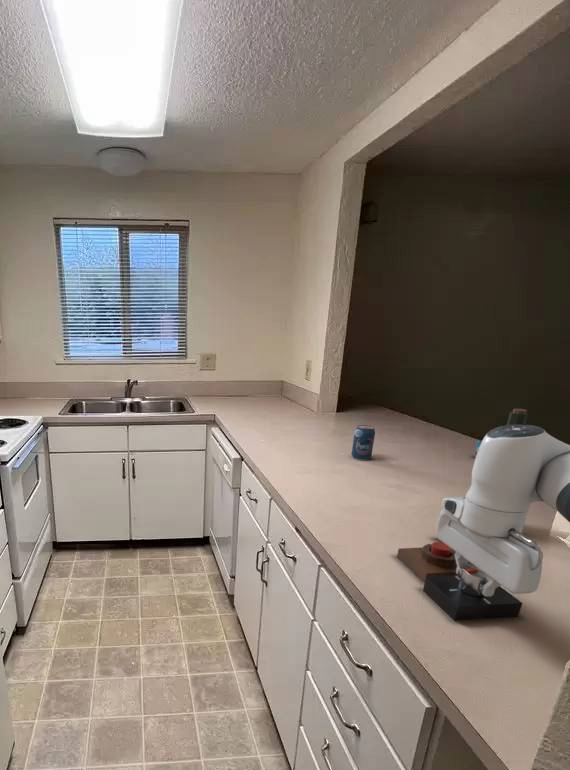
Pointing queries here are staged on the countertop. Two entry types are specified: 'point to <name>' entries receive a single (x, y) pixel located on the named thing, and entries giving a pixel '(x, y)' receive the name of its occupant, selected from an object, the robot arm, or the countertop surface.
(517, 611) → the dial panel
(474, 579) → the dial
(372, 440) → the soda can
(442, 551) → the red button
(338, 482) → the countertop surface
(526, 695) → the countertop surface
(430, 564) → the button box
